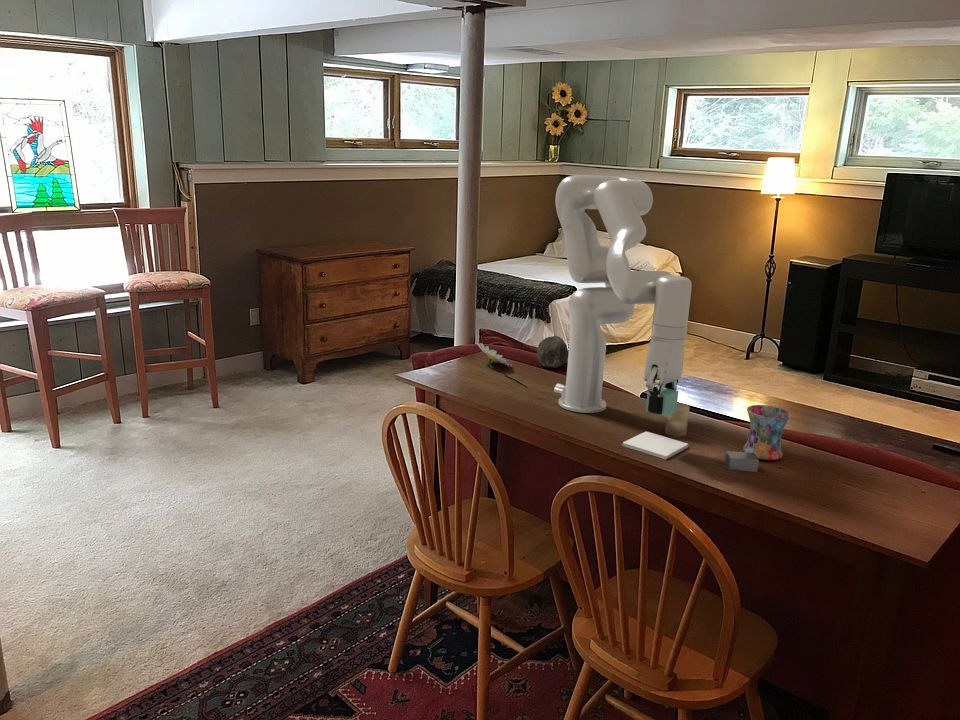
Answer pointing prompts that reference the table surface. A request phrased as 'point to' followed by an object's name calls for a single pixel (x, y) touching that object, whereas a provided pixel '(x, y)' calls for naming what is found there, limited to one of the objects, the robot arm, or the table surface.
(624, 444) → the coaster
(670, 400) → the block
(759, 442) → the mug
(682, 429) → the cork cylinder
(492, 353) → the flower
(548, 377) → the table surface
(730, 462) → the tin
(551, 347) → the rock
